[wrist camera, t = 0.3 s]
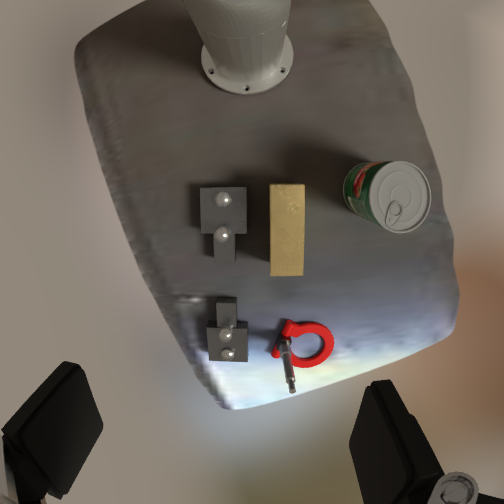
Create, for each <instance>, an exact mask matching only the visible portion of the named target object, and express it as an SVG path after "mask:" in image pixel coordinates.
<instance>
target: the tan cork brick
mask: <svg viewBox="0 0 504 504" xmlns="http://www.w3.org/2000/svg"><path fill="white" fill-rule="evenodd" d="M304 221H305V185H303V184H300V183H269V247H270V275H271V276H303V263H304Z"/></svg>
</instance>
